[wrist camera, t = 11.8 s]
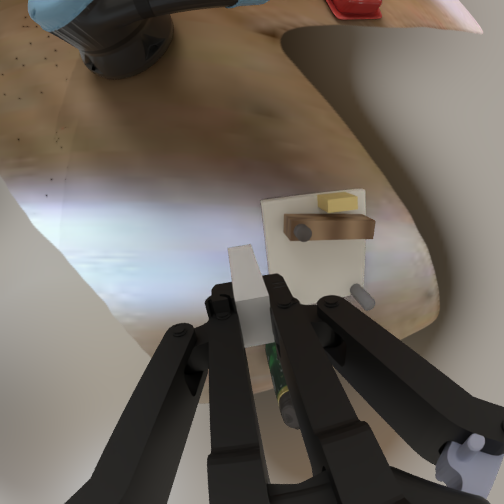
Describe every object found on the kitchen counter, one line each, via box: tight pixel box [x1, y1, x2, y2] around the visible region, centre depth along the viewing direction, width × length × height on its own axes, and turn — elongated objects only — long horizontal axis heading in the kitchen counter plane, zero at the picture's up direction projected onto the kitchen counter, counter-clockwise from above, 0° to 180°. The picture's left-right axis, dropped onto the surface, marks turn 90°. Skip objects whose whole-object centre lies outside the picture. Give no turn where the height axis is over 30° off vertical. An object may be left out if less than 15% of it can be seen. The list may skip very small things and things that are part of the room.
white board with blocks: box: [260, 189, 375, 311], centre depth 44 cm, size 20×18×8 cm
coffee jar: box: [266, 339, 300, 429], centre depth 46 cm, size 10×8×19 cm
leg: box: [283, 214, 375, 242], centre depth 41 cm, size 14×3×6 cm, turn 90°
